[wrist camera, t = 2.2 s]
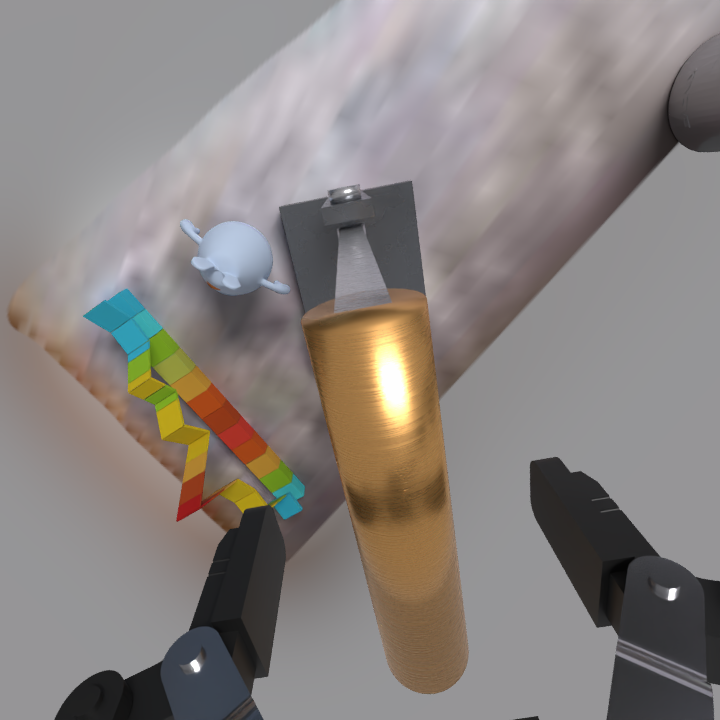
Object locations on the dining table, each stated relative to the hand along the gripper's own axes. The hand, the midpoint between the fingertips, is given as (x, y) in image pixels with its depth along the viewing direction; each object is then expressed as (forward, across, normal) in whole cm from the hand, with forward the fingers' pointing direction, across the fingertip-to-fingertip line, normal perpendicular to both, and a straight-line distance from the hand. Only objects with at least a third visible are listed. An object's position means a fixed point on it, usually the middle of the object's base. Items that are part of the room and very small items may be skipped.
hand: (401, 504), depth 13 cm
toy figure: (+32, +10, -5) cm, 34 cm away
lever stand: (+32, 0, 0) cm, 32 cm away
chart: (+32, +19, +11) cm, 39 cm away
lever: (+18, 0, 0) cm, 18 cm away
